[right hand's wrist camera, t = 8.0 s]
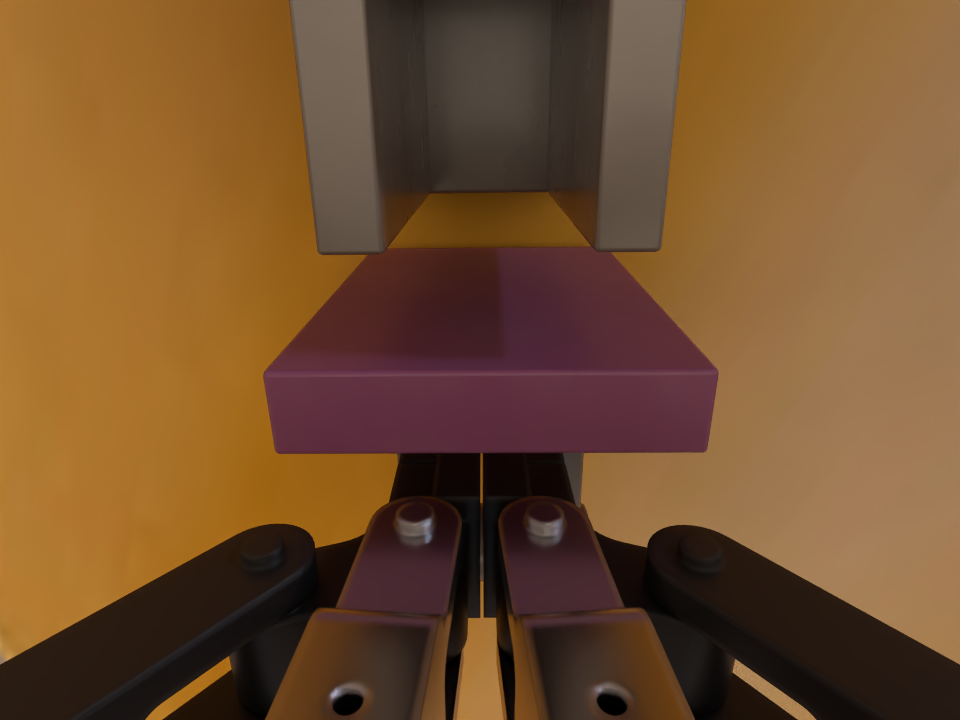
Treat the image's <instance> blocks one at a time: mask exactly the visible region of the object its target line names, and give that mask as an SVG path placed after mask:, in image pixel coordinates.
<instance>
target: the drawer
mask: <svg viewBox="0 0 960 720" xmlns="http://www.w3.org/2000/svg"><path fill="white" fill-rule="evenodd" d="M289 4H290V13H291V22H292V31H293V39H294V48H295V57H296V66H297V75H298V83H299V92H300V101H301V110H302V119H303V127H304V136H305V145H306V154H307V162H308V171H309V180H310V189H311V198H312V206H313V215H314V224H315V233H316V242H317V250H318V252H319V254H322V255H361V254H368V256H367V257H366V258H365V259H364V260H363V261H362V262H361V263H360V265H359V266H358V267H357V268H356V269H355V270H354V271H353V272H352V274H351V275H350V276H349V277H348V278H347V279H346V280H345V281H344V283H343V284H342V285H341V286H340V287H339V288H338V289H337V290H336V292H335V293H334V294H333V295H332V296H331V297H330V298H329V299H328V301H327V302H326V303H325V304H324V305H323V306H322V307H321V308H320V310H319V311H318V312H317V313H316V314H315V315H314V316H313V317H312V319H311V320H310V321H309V322H308V323H307V324H306V325H305V326H304V328H303V329H302V330H301V331H300V332H299V333H298V334H297V335H296V337H295V338H294V339H293V340H292V341H291V342H290V343H289V344H288V346H287V347H286V348H285V349H284V350H283V351H282V352H281V354H280V355H279V356H278V357H277V358H276V359H275V360H274V361H273V363H272V364H271V365H270V366H269V367H268V368H267V369H266V370H265V372H264V375H263V377H264V383H265V390H266V396H267V402H268V408H269V414H270V421H271V427H272V433H273V439H274V446H275V451H276V452H277V453H279V454H351V453H397V457H398V464H399V459H400V454H401V453H563V456H564V460H565V464H566V468H567V472H568V476H569V480H570V484H571V488H572V492H573V496H574V500H575V504H576V506H578V507H579V508H580V509H582V510H583V511H584V512H585V514H586V515H587V516H588V514H587V510H586V508H585V506H584V504H582V503H581V487H582V471H583V454H584V453H655V452H705V451H706V450H707V447H708V440H709V433H710V427H711V420H712V413H713V406H714V400H715V393H716V386H717V380H718V370H717V368H716V367H715V366H714V365H713V364H712V363H711V362H710V361H709V359H708V358H707V357H706V356H705V355H704V354H703V353H702V352H701V351H700V350H699V349H698V347H697V346H696V345H695V344H694V343H693V342H692V341H691V340H690V339H689V338H688V337H687V335H686V334H685V333H684V332H683V331H682V330H681V329H680V328H679V327H678V326H677V324H676V323H675V322H674V321H673V320H672V319H671V318H670V317H669V316H668V315H667V314H666V312H665V311H664V310H663V309H662V308H661V307H660V306H659V305H658V304H657V303H656V301H655V300H654V299H653V298H652V297H651V296H650V295H649V294H648V293H647V292H646V291H645V289H644V288H643V287H642V286H641V285H640V284H639V283H638V282H637V281H636V280H635V278H634V277H633V276H632V275H631V274H630V273H629V272H628V271H627V270H626V269H625V268H624V266H623V265H622V264H621V263H620V262H619V261H618V260H617V259H616V258H615V257H614V256H613V254H612V253H611V252H656V251H658V250H660V248H661V244H662V234H663V224H664V214H665V204H666V195H667V185H668V175H669V165H670V155H671V145H672V136H673V126H674V116H675V106H676V96H677V86H678V76H679V67H680V57H681V47H682V37H683V27H684V17H685V7H686V0H289ZM514 192H548V193H549V194H550V195H551V197H552V198H553V199H554V200H555V202H556V203H557V204H558V205H559V207H560V208H561V209H562V210H563V212H564V213H565V214H566V215H567V216H568V218H569V219H570V220H571V221H572V223H573V224H574V225H575V226H576V228H577V229H578V230H579V231H580V233H581V234H582V235H583V236H584V238H585V239H586V240H587V241H588V242H589V244H590V245H591V246H592V247H526V248H416V249H386V248H387V247H388V246H389V245H390V243H391V242H392V241H393V240H394V238H395V237H396V236H397V235H398V233H399V232H400V231H401V229H402V228H403V227H404V226H405V224H406V223H407V222H408V221H409V219H410V218H411V217H412V216H413V214H414V213H415V212H416V210H417V209H418V208H419V207H420V205H421V204H422V203H423V202H424V200H425V199H426V198H427V197H428V195H429V194H430V193H514ZM480 581H483V503H480Z"/></svg>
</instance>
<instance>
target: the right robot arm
mask: <svg viewBox="0 0 960 720" xmlns="http://www.w3.org/2000/svg"><path fill="white" fill-rule="evenodd" d="M483 583H484V618H496V624H497V669H498V678H499V686H500V694H501V702H502V711H503V719H504V720H797V719H796V718H794V717H793V716H792V715H790V714H789V713H788V712H786V711H785V710H783V709H782V708H781V707H779V706H778V705H776V704H775V703H774V702H772V701H771V700H770V699H768V698H767V697H765V696H764V695H763V694H761V693H760V692H759V691H757V690H756V689H754V688H753V687H752V686H750V685H749V684H748V683H746V682H745V681H743V680H742V679H741V678H739V677H738V676H737V675H735V674H734V673H732V671H733V666H734V662H735V659H736V660H738V661H739V662H741V663H742V664H744V665H745V666H746V667H748V668H749V669H751V670H752V671H753V672H755V673H756V674H758V675H759V676H761V677H762V678H763V679H765V680H766V681H768V682H769V683H771V684H772V685H773V686H775V687H776V688H778V689H779V690H780V691H782V692H783V693H785V694H786V695H788V696H789V697H790V698H792V699H793V700H795V701H796V702H797V703H799V704H800V705H802V706H803V707H804V708H805V709H807V710H808V711H809V712H810V713H811V714H812V715H813V716H814V717H815V719H816V720H960V665H959V664H958V663H956V662H954V661H952V660H950V659H948V658H947V657H945V656H943V655H941V654H939V653H938V652H936V651H934V650H932V649H930V648H928V647H927V646H925V645H923V644H921V643H919V642H918V641H916V640H914V639H912V638H910V637H908V636H907V635H905V634H903V633H901V632H899V631H898V630H896V629H894V628H892V627H890V626H888V625H887V624H885V623H883V622H881V621H879V620H878V619H876V618H874V617H872V616H870V615H869V614H867V613H865V612H863V611H861V610H859V609H858V608H856V607H854V606H852V605H850V604H849V603H847V602H845V601H843V600H841V599H839V598H838V597H836V596H834V595H832V594H830V593H829V592H827V591H825V590H823V589H821V588H819V587H818V586H816V585H814V584H812V583H810V582H809V581H807V580H805V579H803V578H801V577H799V576H798V575H796V574H794V573H792V572H790V571H789V570H787V569H785V568H783V567H781V566H779V565H778V564H776V563H774V562H772V561H770V560H769V559H767V558H765V557H763V556H761V555H759V554H758V553H756V552H754V551H752V550H750V549H749V548H747V547H745V546H743V545H741V544H739V543H738V542H736V541H734V540H732V539H730V538H729V537H727V536H725V535H723V534H721V533H719V532H716V531H713V530H711V529H707V528H703V527H698V526H692V525H675V526H669V527H666V528H663V529H661V530H659V531H657V532H656V533H655V534H653V535H652V537H651V538H650V540H649V542H648V546H647V547H642V546H637V545H633V544H628V543H624V542H620V541H616V540H613V539H610V538H608V537H605V536H603V535H601V534H599V533H598V532H596V531H594V530H593V527H592V525H591V522H590V520H589V518H588V516H587V515H586V514H585V512H584V511H583V510H582V509H580V508H579V507H578V506H576V504H575V500H574V496H573V492H572V488H571V484H570V480H569V476H568V472H567V468H566V464H565V460H564V456H563V453H483ZM468 618H480V453H401V454H400V459H399V464H398V467H397V471H396V475H395V479H394V483H393V488H392V492H391V496H390V500H389V503H387V504H386V505H384V506H382V507H381V508H380V509H379V510H377V511H376V512H375V514H374V515H373V516H372V518H371V520H370V522H369V525H368V527H367V530H366V532H365V534H363V535H361V536H359V537H357V538H354V539H352V540H349V541H345V542H341V543H337V544H333V545H328V546H323V547H319V548H315V544H314V540H313V538H312V536H311V535H310V534H309V533H308V532H307V531H305V530H304V529H302V528H300V527H297V526H294V525H288V524H268V525H262V526H258V527H254V528H251V529H248V530H246V531H243V532H241V533H239V534H237V535H235V536H233V537H231V538H230V539H228V540H226V541H224V542H222V543H220V544H219V545H217V546H215V547H213V548H211V549H210V550H208V551H206V552H204V553H202V554H201V555H199V556H197V557H195V558H193V559H191V560H190V561H188V562H186V563H184V564H182V565H181V566H179V567H177V568H175V569H173V570H171V571H170V572H168V573H166V574H164V575H162V576H161V577H159V578H157V579H155V580H153V581H151V582H150V583H148V584H146V585H144V586H142V587H141V588H139V589H137V590H135V591H133V592H131V593H130V594H128V595H126V596H124V597H122V598H121V599H119V600H117V601H115V602H113V603H111V604H110V605H108V606H106V607H104V608H102V609H101V610H99V611H97V612H95V613H93V614H91V615H90V616H88V617H86V618H84V619H82V620H81V621H79V622H77V623H75V624H73V625H72V626H70V627H68V628H66V629H64V630H62V631H61V632H59V633H57V634H55V635H53V636H52V637H50V638H48V639H46V640H44V641H42V642H41V643H39V644H37V645H35V646H33V647H32V648H30V649H28V650H26V651H24V652H22V653H21V654H19V655H17V656H15V657H13V658H12V659H10V660H8V661H6V662H4V663H2V664H1V665H0V720H145V719H146V718H147V717H148V716H149V714H150V713H151V712H152V711H153V710H154V709H155V708H156V707H157V706H159V705H160V704H161V703H163V702H164V701H165V700H167V699H168V698H170V697H171V696H172V695H174V694H175V693H177V692H178V691H180V690H181V689H182V688H184V687H185V686H187V685H188V684H189V683H191V682H192V681H194V680H195V679H197V678H198V677H199V676H201V675H202V674H204V673H205V672H207V671H208V670H209V669H211V668H212V667H214V666H215V665H216V664H218V663H219V662H221V661H222V660H224V659H225V658H226V657H228V656H229V658H230V663H231V668H232V670H230V671H229V672H228V673H226V674H225V675H223V676H222V677H221V678H219V679H218V680H217V681H215V682H214V683H212V684H211V685H210V686H208V687H207V688H206V689H204V690H203V691H201V692H200V693H199V694H197V695H196V696H195V697H193V698H192V699H190V700H189V701H188V702H186V703H185V704H183V705H182V706H181V707H179V708H178V709H177V710H175V711H174V712H172V713H171V714H170V715H168V716H167V717H166V718H164V719H163V720H457V712H458V703H459V695H460V687H461V679H462V670H463V659H464V654H463V648H464V646H465V643H466V640H467V633H468Z"/></svg>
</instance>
